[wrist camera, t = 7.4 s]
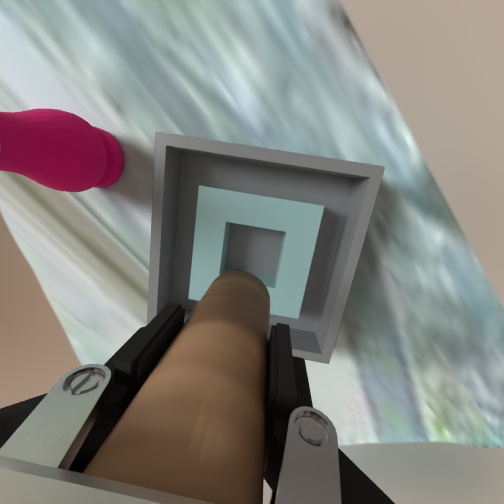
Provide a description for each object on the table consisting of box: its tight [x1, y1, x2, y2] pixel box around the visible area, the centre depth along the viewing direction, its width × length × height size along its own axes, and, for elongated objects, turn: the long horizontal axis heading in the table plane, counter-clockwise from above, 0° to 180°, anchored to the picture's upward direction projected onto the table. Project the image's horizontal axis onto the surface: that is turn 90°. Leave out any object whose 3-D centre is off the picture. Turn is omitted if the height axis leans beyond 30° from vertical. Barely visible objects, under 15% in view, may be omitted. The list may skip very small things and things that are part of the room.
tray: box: [147, 132, 385, 364], centre depth 26 cm, size 20×20×5 cm
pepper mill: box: [0, 109, 124, 192], centre depth 18 cm, size 7×7×20 cm
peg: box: [83, 271, 270, 504], centre depth 9 cm, size 4×4×12 cm
